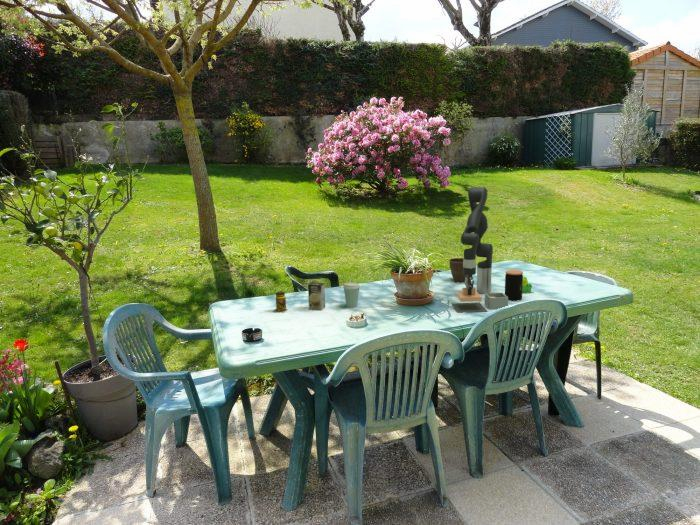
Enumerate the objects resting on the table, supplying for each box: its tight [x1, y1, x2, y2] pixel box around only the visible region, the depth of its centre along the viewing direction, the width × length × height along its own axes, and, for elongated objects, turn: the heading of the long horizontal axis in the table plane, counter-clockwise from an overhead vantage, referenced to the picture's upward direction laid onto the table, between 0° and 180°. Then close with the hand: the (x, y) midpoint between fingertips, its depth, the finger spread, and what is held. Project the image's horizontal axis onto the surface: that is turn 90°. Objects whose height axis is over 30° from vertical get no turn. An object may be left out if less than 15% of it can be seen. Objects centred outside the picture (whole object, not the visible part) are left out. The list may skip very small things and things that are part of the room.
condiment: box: [271, 290, 289, 313], centre depth 311 cm, size 7×8×12 cm
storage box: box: [484, 292, 509, 310], centre depth 306 cm, size 11×11×7 cm
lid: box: [455, 286, 483, 303], centre depth 303 cm, size 13×13×6 cm
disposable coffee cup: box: [342, 282, 361, 309], centre depth 315 cm, size 11×11×15 cm
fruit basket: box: [522, 276, 533, 294], centre depth 333 cm, size 11×9×11 cm
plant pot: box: [448, 257, 466, 283], centre depth 365 cm, size 15×15×16 cm
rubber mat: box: [450, 301, 488, 314], centre depth 305 cm, size 18×18×1 cm
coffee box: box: [307, 281, 326, 311], centre depth 313 cm, size 9×6×16 cm
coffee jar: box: [504, 269, 524, 302], centre depth 318 cm, size 11×11×18 cm
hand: (468, 293), depth 303 cm, fingers closed on lid, 3 cm apart
